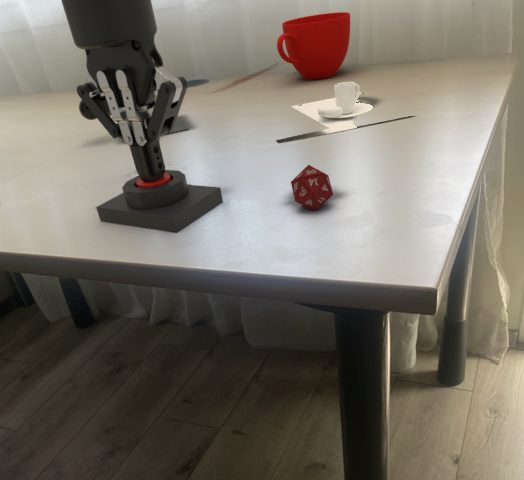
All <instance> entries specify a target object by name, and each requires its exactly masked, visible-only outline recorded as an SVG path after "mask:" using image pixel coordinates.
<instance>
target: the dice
mask: <svg viewBox="0 0 524 480" xmlns="http://www.w3.org/2000/svg"><path fill="white" fill-rule="evenodd" d="M290 184H291V189H292V193H293V194H292V195H293V198H294V202H296V203H298V204H300V205H302V206H303V207H306V208H307V209H309V210H312V211H313V212H317V210H319V209H320V208H321V207H322V206H323V205H324V204H325V203H326V202H328V201H329V199H331V197H332V196H334V192H333V188H332V184H331V179H330V176H329V175H328V174H327V173H325V172H323V171H321V170H319V169H318V168H316V167H313V166H312V165H310V164H307V166H305V167H304V168H303V169H302V171H300V172H299V173H298V174H297V175H296V176H295V177H294V178H293V179H292V180H290Z"/></svg>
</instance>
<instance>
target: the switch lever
mask: <svg viewBox="0 0 524 480" xmlns="http://www.w3.org/2000/svg"><path fill="white" fill-rule="evenodd" d="M78 111H79V113H80V115H81V116H82V117H83V118H84V119H86V120H89V121H94V120H98V119H97V118H96V116H95V115H94V114H93V113H92V111H91V110H90V109H89V108H88V107H87V105H86V104H85V103H84V102H83V100H82V99H81V100H80V101H79V104H78Z"/></svg>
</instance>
